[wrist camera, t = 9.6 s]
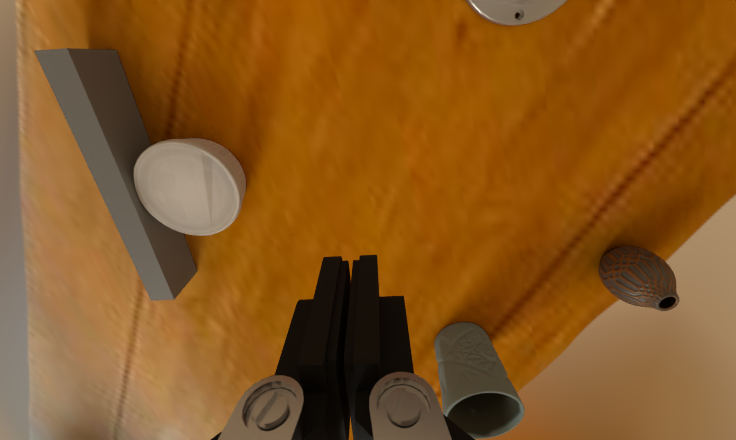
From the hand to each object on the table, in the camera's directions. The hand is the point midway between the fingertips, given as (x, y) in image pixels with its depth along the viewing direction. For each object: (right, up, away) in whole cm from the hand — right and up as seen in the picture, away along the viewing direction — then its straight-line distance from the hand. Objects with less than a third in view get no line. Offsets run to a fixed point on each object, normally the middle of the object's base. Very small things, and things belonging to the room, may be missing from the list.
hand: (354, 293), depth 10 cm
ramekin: (-19, +8, +29) cm, 36 cm away
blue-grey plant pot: (+15, -17, +41) cm, 47 cm away
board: (-26, +7, +29) cm, 40 cm away
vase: (+34, -3, +34) cm, 48 cm away
